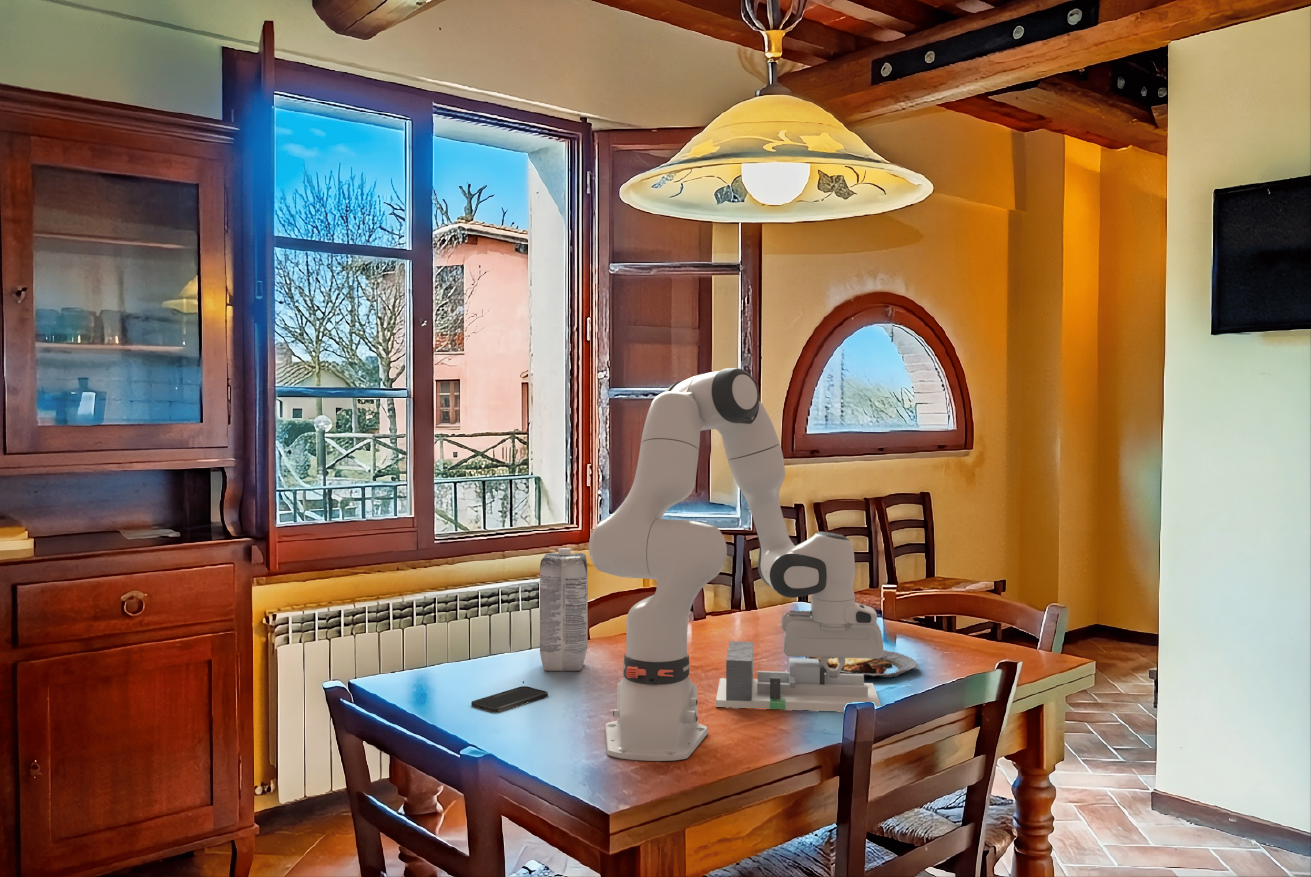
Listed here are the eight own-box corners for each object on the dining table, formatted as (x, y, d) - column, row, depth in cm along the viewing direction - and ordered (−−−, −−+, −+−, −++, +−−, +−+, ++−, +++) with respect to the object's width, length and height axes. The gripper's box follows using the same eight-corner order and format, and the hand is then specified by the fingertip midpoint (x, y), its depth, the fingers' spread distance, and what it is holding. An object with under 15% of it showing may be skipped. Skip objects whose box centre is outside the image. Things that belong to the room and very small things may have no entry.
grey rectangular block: (751, 701, 196) (751, 661, 196) (726, 700, 197) (726, 660, 196) (752, 679, 212) (753, 641, 212) (729, 678, 213) (729, 641, 212)
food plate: (865, 688, 210) (866, 672, 210) (784, 667, 228) (784, 651, 228) (936, 672, 226) (936, 656, 226) (854, 653, 244) (855, 639, 244)
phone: (550, 692, 205) (495, 709, 193) (550, 697, 205) (495, 715, 193) (523, 685, 210) (468, 701, 198) (523, 690, 210) (468, 707, 198)
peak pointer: (780, 701, 195) (780, 681, 195) (770, 701, 195) (770, 680, 195) (780, 694, 200) (780, 674, 200) (770, 694, 200) (770, 674, 200)
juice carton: (585, 672, 223) (585, 552, 222) (538, 672, 222) (538, 552, 222) (588, 662, 231) (588, 546, 231) (542, 662, 231) (542, 546, 230)
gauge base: (881, 714, 193) (881, 696, 193) (715, 707, 197) (715, 690, 197) (872, 690, 209) (872, 673, 209) (720, 685, 213) (720, 668, 213)
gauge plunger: (826, 700, 196) (826, 675, 196) (790, 699, 197) (790, 674, 197) (822, 682, 208) (822, 659, 208) (788, 681, 209) (789, 658, 209)
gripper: (781, 613, 202) (781, 681, 203) (884, 615, 200) (884, 684, 200) (781, 607, 209) (781, 672, 209) (881, 609, 206) (881, 675, 207)
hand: (832, 678), depth 205 cm, fingers closed
